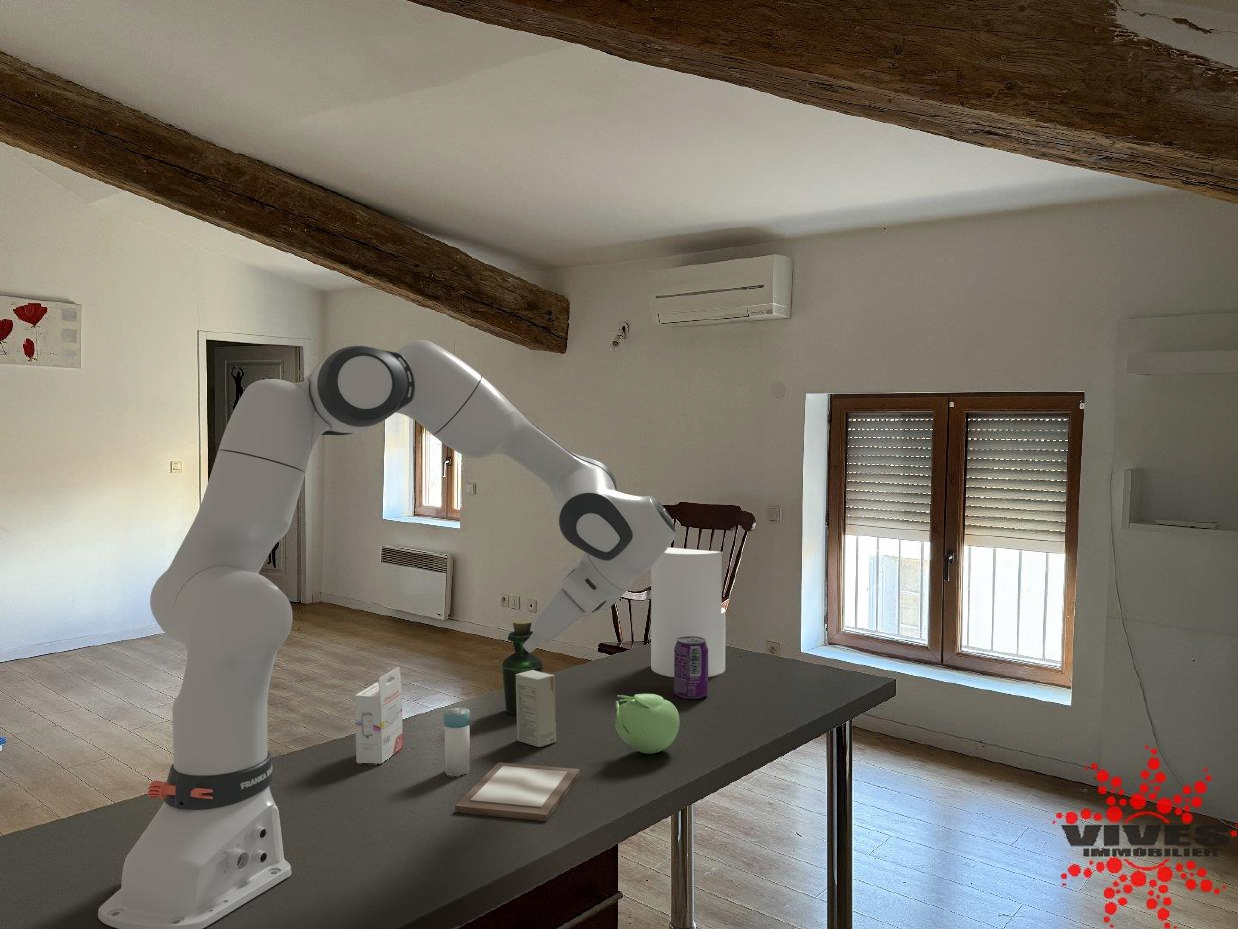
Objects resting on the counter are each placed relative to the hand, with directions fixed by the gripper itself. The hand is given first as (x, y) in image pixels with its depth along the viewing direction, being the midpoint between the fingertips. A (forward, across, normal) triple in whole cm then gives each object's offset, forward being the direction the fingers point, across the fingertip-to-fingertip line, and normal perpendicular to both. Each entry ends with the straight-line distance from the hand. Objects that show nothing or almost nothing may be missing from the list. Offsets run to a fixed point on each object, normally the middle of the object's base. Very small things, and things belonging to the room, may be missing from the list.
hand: (536, 641), depth 148 cm
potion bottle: (+26, -33, +6) cm, 42 cm away
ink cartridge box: (+37, -4, -5) cm, 37 cm away
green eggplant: (+6, -15, +26) cm, 31 cm away
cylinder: (+7, -73, +26) cm, 77 cm away
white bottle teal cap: (+25, 0, +6) cm, 26 cm away
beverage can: (+4, -51, +29) cm, 58 cm away
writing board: (+16, +6, +15) cm, 23 cm away
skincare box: (+20, -17, +12) cm, 29 cm away
